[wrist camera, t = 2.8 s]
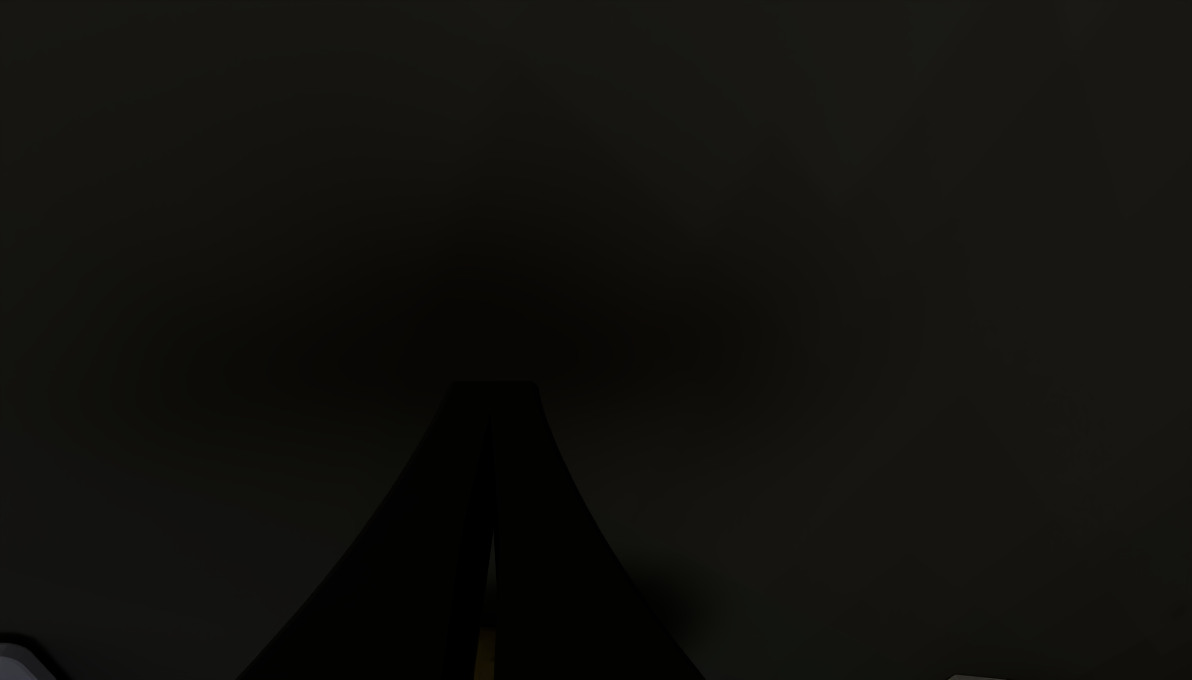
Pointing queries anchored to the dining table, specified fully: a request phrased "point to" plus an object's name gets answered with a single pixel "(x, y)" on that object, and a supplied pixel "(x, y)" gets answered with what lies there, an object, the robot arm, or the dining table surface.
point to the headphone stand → (970, 678)
